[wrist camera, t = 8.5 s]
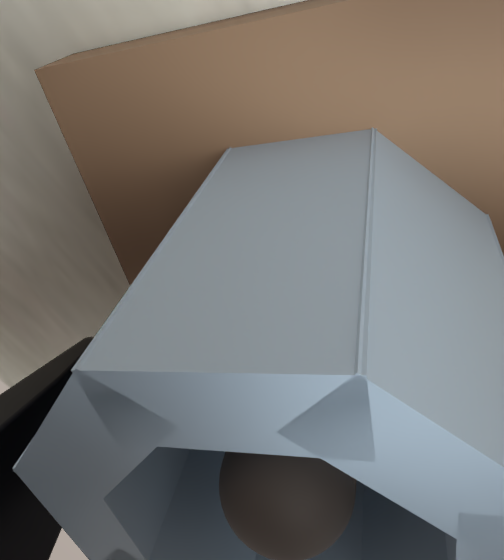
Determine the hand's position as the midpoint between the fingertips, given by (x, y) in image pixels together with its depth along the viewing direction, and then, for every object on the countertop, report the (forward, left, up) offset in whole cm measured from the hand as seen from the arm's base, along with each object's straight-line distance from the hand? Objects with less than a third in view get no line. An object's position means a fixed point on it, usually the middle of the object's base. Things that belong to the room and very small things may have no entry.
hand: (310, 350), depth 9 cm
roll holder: (0, 0, -4) cm, 4 cm away
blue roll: (0, 0, -2) cm, 2 cm away
